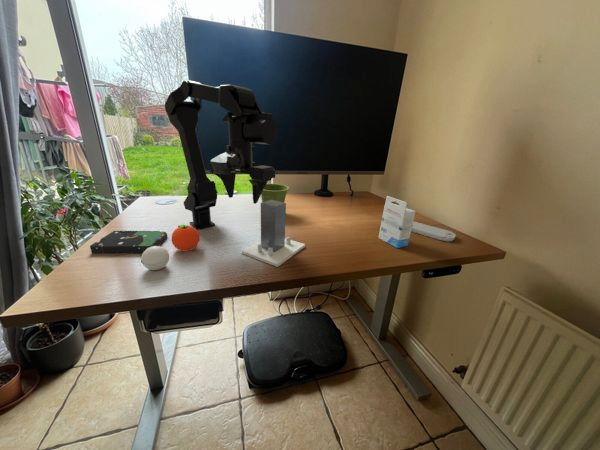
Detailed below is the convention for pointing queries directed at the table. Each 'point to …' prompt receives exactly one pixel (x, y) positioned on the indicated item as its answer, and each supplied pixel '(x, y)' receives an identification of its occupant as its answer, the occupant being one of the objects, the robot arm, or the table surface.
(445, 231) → the game console
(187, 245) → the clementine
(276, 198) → the plant pot
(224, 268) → the table surface
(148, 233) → the disk drive
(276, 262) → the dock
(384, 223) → the ink box
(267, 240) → the grey metal block
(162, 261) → the white egg
